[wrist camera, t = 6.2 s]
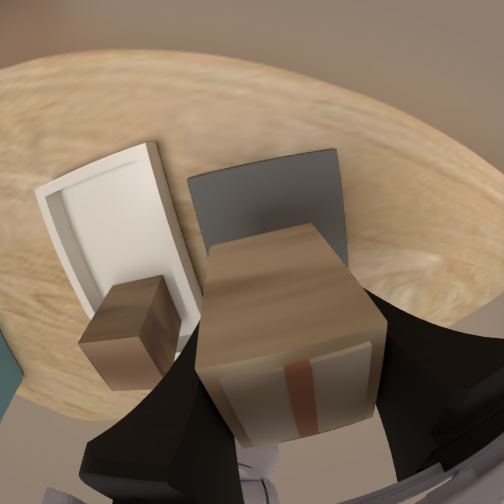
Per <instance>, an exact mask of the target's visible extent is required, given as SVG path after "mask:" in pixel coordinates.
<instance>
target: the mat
mask: <svg viewBox="0 0 504 504" xmlns="http://www.w3.org/2000/svg"><path fill="white" fill-rule="evenodd" d="M187 182H188V186H189V190H190V193H191V197H192V201H193V204H194V208H195V211H196V215H197V219H198V222H199V226H200V229H201V233H202V236H203V239H204V243H205V246H206V250H207V253H208V256H209V251H210V246H213V245H218V244H222V243H226V242H230V241H234V240H238V239H243V238H247V237H251V236H255V235H260V234H264V233H268V232H272V231H277V230H281V229H285V228H290V227H294V226H298V225H303V224H307V223H312V224H313V226H314V227H315V228H316V229H317V230H318V232H319V233H320V234H321V235H322V237H323V238H324V239H325V240H326V241H327V243H328V244H329V245H330V246H331V248H332V249H333V250H334V251H335V253H336V254H337V255H338V256H339V258H340V259H341V260H342V262H343V263H344V264H345V265H346V267H347V268H348V256H347V240H346V227H345V215H344V205H343V196H342V187H341V178H340V171H339V163H338V156H337V149H327V150H320V151H314V152H308V153H302V154H296V155H290V156H285V157H279V158H274V159H269V160H264V161H259V162H254V163H249V164H245V165H240V166H235V167H231V168H227V169H222V170H218V171H214V172H210V173H206V174H202V175H198V176H194V177H190V178H188V179H187Z"/></svg>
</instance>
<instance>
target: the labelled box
mask: <svg viewBox="0 0 504 504" xmlns="http://www.w3.org/2000/svg"><path fill="white" fill-rule="evenodd" d="M386 332H387V320H386V319H385V318H384V316H383V315H382V313H381V312H380V311H379V309H378V308H377V306H376V305H375V304H374V302H373V301H372V300H371V298H370V297H369V296H368V294H367V293H366V292H365V290H364V289H363V288H362V286H361V285H360V284H359V282H358V281H357V280H356V278H355V277H354V276H353V274H352V273H351V272H350V271H349V269H348V268H347V267H346V265H345V264H344V263H343V262H342V260H341V259H340V258H339V256H338V255H337V254H336V253H335V251H334V250H333V249H332V248H331V246H330V245H329V244H328V243H327V241H326V240H325V239H324V238H323V237H322V235H321V234H320V233H319V232H318V230H317V229H316V228H315V227H314V226H313V224H312V223H307V224H303V225H298V226H294V227H290V228H285V229H281V230H277V231H272V232H268V233H264V234H260V235H255V236H251V237H247V238H243V239H238V240H234V241H230V242H226V243H222V244H218V245H213V246H210V251H209V257H208V264H207V271H206V278H205V286H204V293H203V301H202V309H201V317H200V325H199V334H198V343H197V352H196V361H195V370H196V372H197V374H198V376H199V378H200V379H201V381H202V383H203V385H204V387H205V388H206V390H207V392H208V394H209V395H210V397H211V399H212V400H213V402H214V404H215V405H216V407H217V409H218V411H219V412H220V414H221V415H222V417H223V419H224V420H225V422H226V424H227V425H228V427H229V428H230V430H231V431H232V433H233V435H234V436H235V438H236V439H237V441H238V442H239V444H240V445H241V447H242V448H243V449H244V448H252V447H258V446H264V445H270V444H276V443H281V442H286V441H291V440H295V439H300V438H304V437H308V436H312V435H316V434H320V433H324V432H327V431H331V430H334V429H337V428H341V427H344V426H348V425H351V424H354V423H357V422H360V421H363V420H366V419H368V418H371V417H373V413H374V409H375V404H376V399H377V394H378V388H379V383H380V377H381V370H382V364H383V357H384V349H385V341H386Z"/></svg>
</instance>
